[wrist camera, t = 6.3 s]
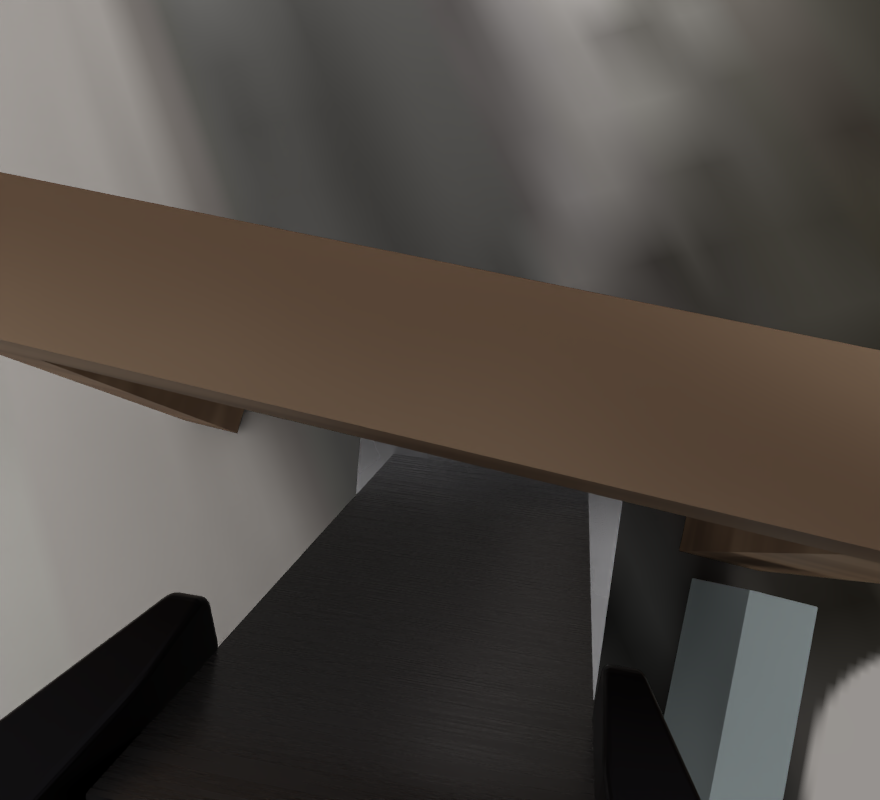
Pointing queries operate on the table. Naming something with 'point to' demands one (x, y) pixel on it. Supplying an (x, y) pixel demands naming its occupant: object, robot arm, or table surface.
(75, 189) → the door frame
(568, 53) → the table surface
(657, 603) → the table surface
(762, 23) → the table surface
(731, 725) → the door
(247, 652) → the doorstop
